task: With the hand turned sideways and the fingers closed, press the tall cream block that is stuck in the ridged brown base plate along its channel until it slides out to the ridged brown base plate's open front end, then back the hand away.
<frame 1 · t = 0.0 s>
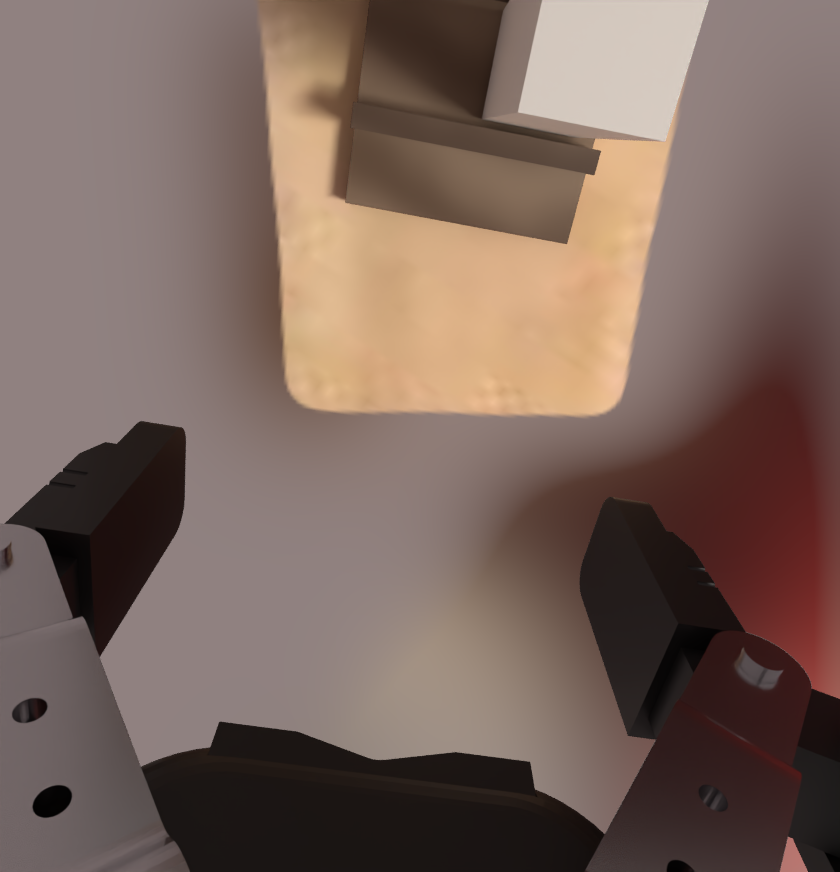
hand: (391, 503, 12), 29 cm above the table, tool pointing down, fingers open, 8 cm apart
cream block: (567, 62, 27), point 9 cm above the table, slide at 0.0 cm
ridged brown base plate: (486, 68, 35), on the table
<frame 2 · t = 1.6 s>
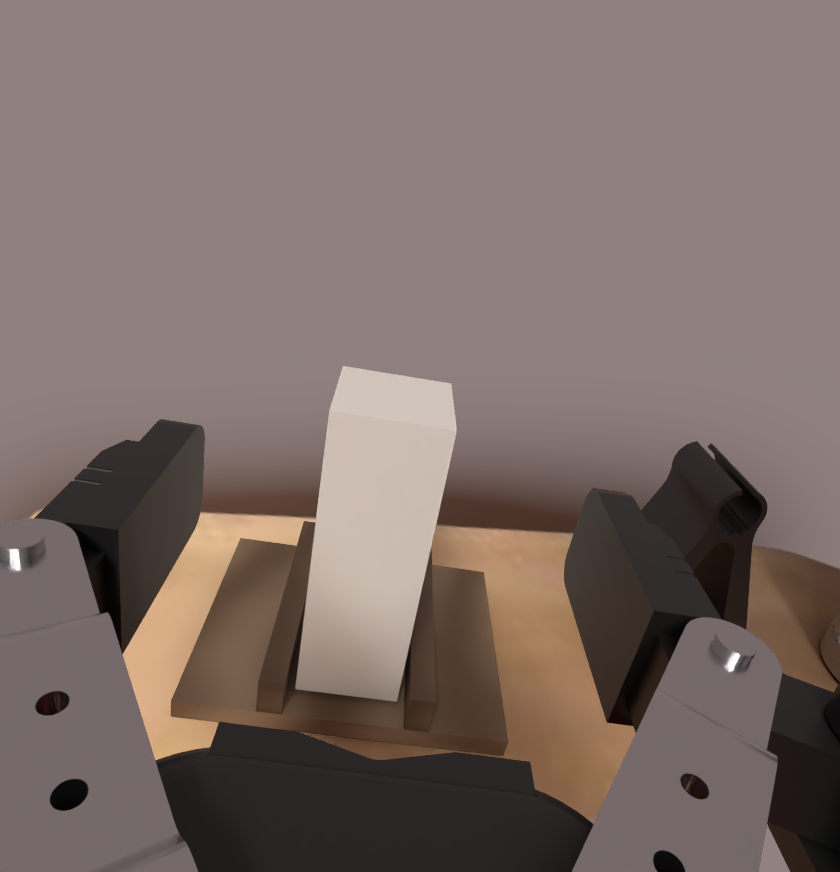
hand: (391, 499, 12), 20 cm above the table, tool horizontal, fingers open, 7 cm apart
cream block: (371, 540, 31), point 9 cm above the table, slide at 0.0 cm
phone stand: (656, 623, 43), on the table
ridged brown base plate: (352, 638, 37), on the table
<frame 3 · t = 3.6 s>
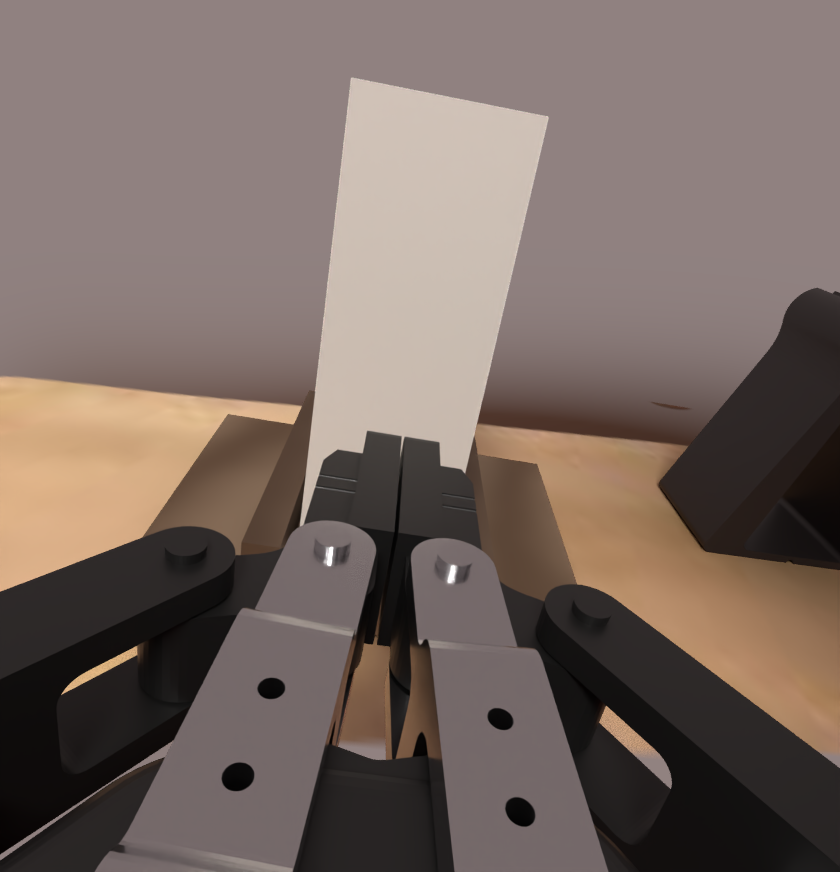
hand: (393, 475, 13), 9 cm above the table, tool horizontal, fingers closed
cream block: (404, 351, 21), point 9 cm above the table, slide at 0.0 cm
phone stand: (757, 531, 34), on the table
ridged brown base plate: (372, 526, 28), on the table
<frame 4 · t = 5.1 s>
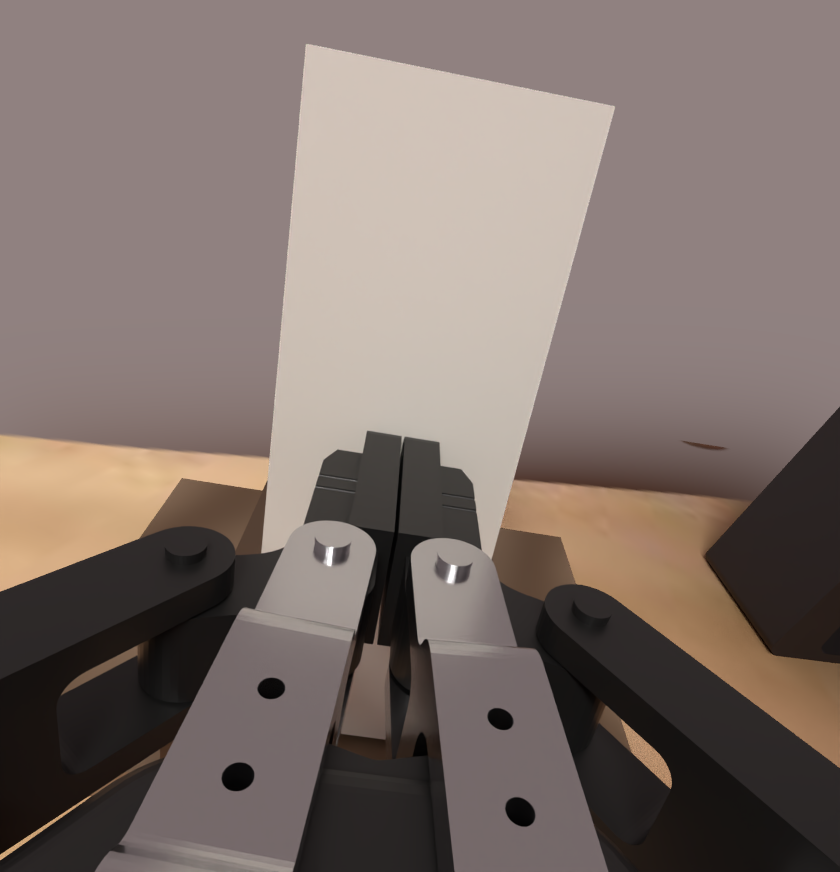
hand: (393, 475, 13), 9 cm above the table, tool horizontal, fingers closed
cream block: (395, 431, 16), point 9 cm above the table, slide at 0.3 cm, touching gripper
phone stand: (828, 619, 28), on the table
ridged brown base plate: (356, 636, 22), on the table
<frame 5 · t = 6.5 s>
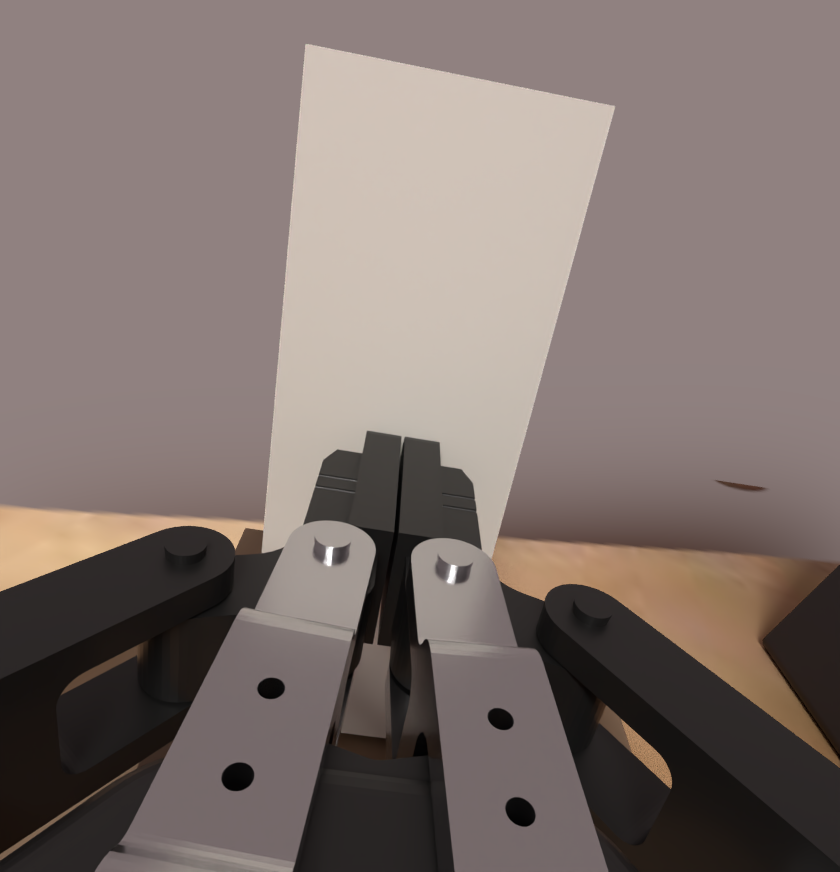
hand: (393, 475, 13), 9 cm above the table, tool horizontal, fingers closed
cream block: (395, 431, 16), point 9 cm above the table, slide at 5.9 cm, touching gripper
ridged brown base plate: (335, 791, 17), on the table
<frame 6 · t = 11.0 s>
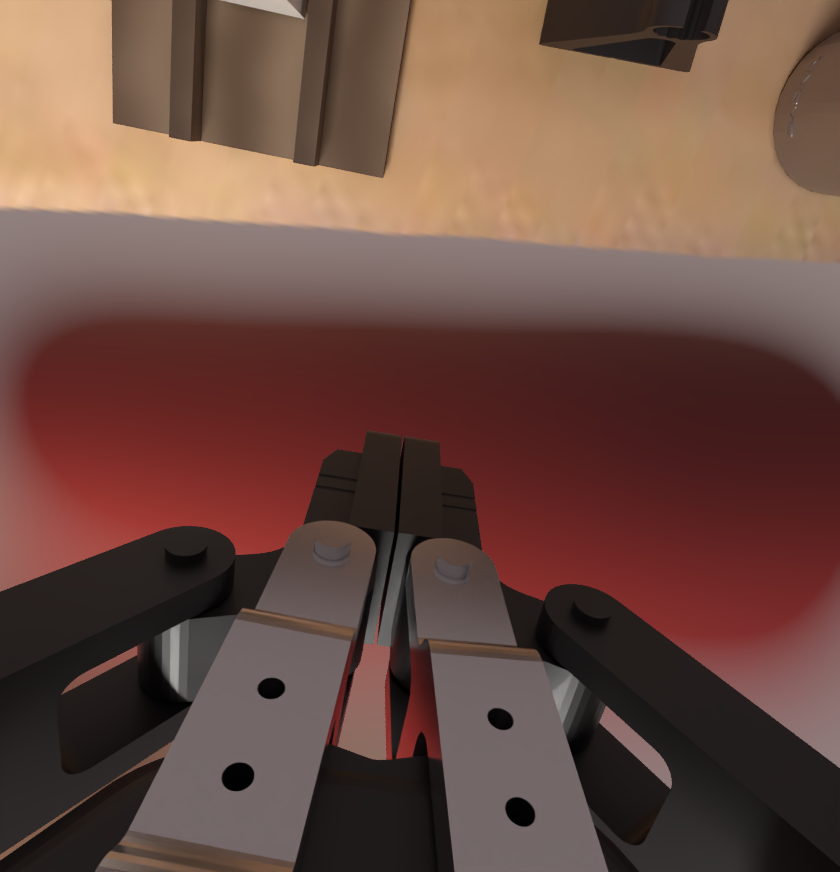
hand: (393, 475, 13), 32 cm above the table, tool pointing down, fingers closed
ridged brown base plate: (263, 27, 37), on the table
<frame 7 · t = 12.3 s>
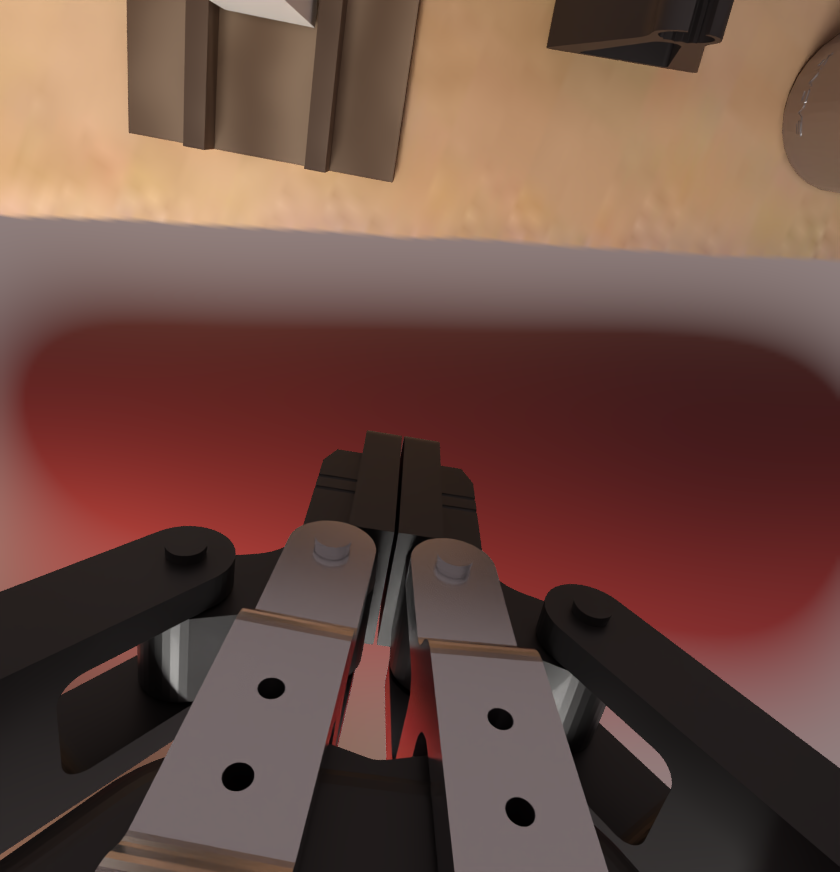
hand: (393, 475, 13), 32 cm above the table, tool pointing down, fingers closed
phone stand: (633, 1, 37), on the table
ridged brown base plate: (274, 37, 37), on the table
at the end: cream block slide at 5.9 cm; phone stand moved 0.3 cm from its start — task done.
